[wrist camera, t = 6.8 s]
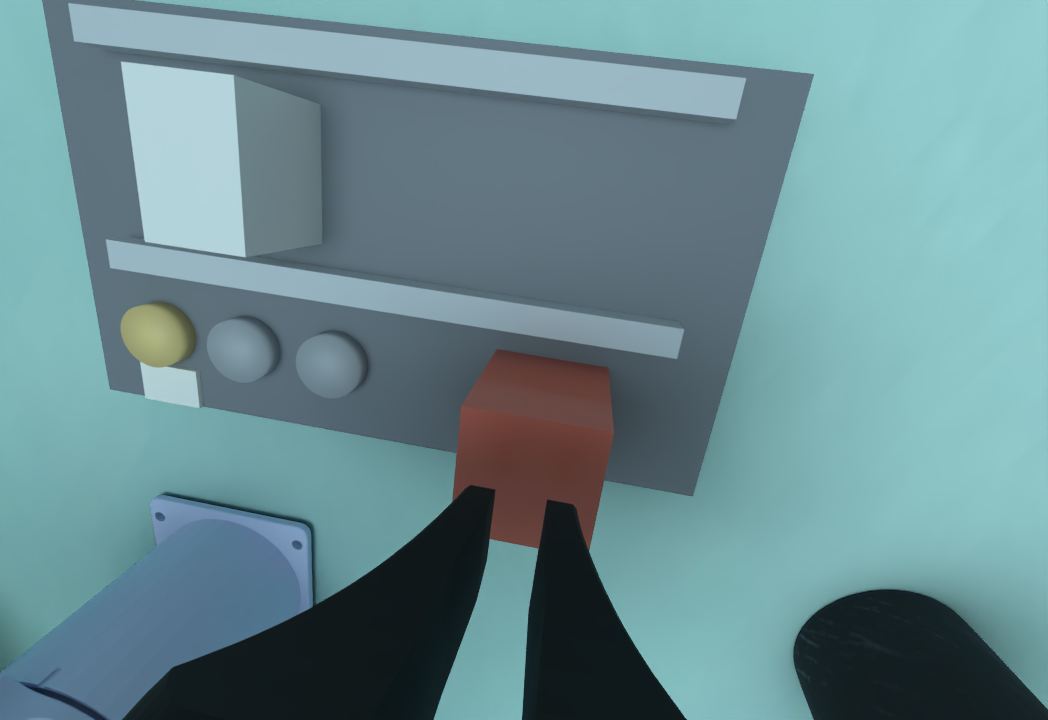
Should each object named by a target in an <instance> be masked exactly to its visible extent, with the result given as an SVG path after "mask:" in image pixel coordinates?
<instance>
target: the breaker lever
mask: <svg viewBox="0 0 1048 720" xmlns="http://www.w3.org/2000/svg"><path fill="white" fill-rule="evenodd" d="M121 67H122V74H123V82H124V89H125V97H126V104H127V112H128V119H129V127H130V134H131V142H132V149H133V157H134V164H135V172H136V179H137V187H138V194H139V202H140V210H141V217H142V225H143V232H144V240H145V242H149V243H156V244H162V245H169V246H175V247H182V248H188V249H195V250H201V251H208V252H214V253H221V254H227V255H234V256H240V257H250V256H256V255H262V254H268V253H273V252H279V251H285V250H290V249H296V248H302V247H307V246H313V245H319V244H322V173H321V104H318V103H315V102H312V101H309V100H306V99H303V98H300V97H297V96H294V95H291V94H288V93H285V92H282V91H279V90H276V89H273V88H270V87H268V86H265V85H262V84H259V83H256V82H253V81H250V80H247V79H244V78H241V77H238V76H235V75H229V74H221V73H212V72H204V71H196V70H188V69H179V68H171V67H163V66H154V65H146V64H138V63H130V62H121Z"/></svg>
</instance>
